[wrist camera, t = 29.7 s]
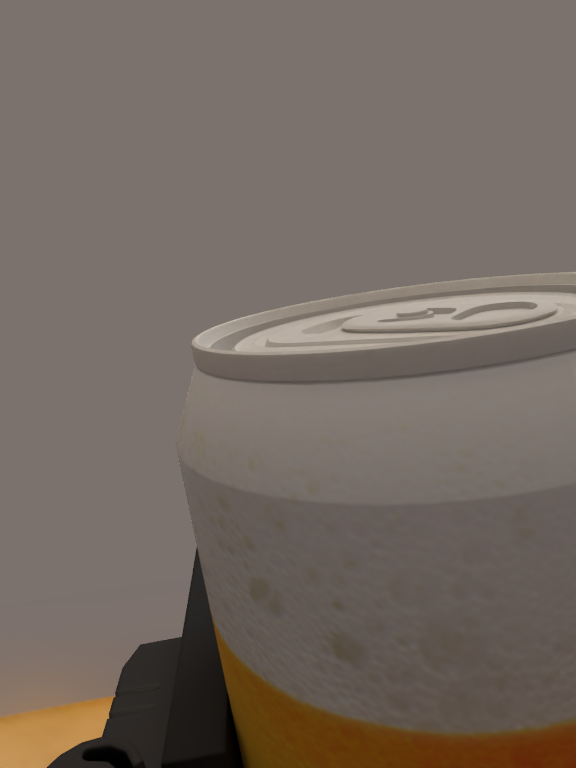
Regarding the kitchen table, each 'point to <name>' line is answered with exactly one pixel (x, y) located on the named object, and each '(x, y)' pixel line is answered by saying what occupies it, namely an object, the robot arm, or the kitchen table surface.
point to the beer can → (393, 524)
